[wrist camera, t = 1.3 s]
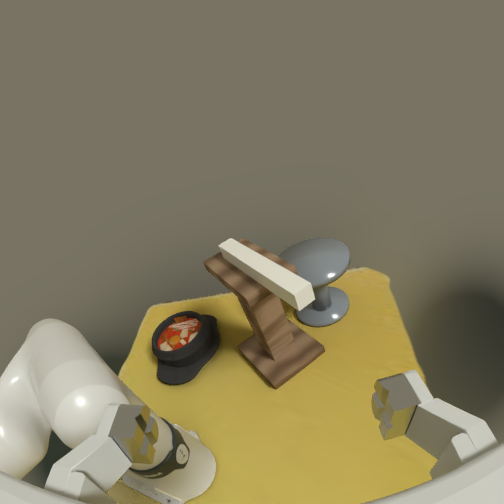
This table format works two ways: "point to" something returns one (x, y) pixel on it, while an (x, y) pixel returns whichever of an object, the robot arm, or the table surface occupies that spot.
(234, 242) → the bar
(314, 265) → the cake stand
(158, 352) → the casserole
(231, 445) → the table surface
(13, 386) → the robot arm
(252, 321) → the walnut stand
